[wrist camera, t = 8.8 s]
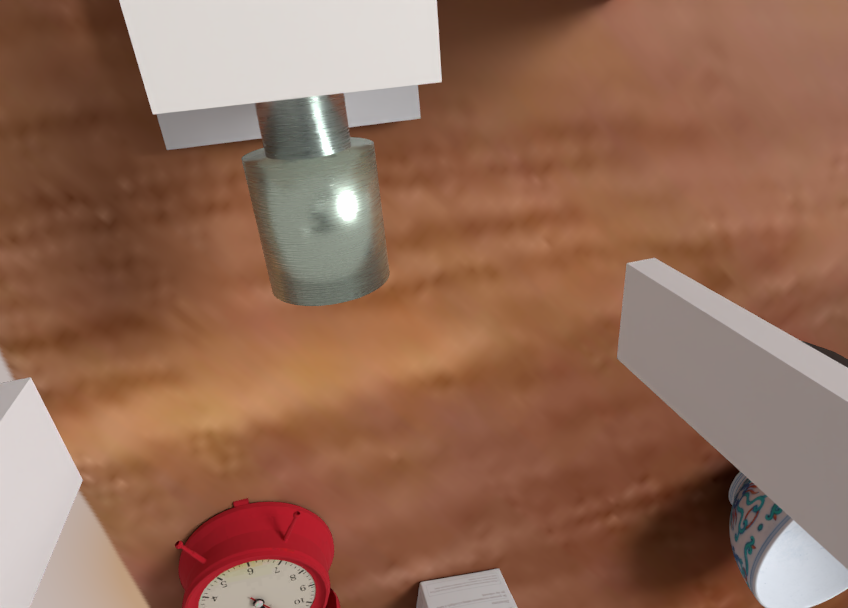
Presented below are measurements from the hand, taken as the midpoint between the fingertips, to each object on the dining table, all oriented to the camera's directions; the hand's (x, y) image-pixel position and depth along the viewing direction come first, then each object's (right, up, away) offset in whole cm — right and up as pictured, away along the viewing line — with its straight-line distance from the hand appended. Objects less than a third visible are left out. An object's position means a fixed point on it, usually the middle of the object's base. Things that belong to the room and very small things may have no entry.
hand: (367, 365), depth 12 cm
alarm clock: (-10, -18, +27) cm, 34 cm away
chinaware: (+33, -15, +38) cm, 52 cm away
